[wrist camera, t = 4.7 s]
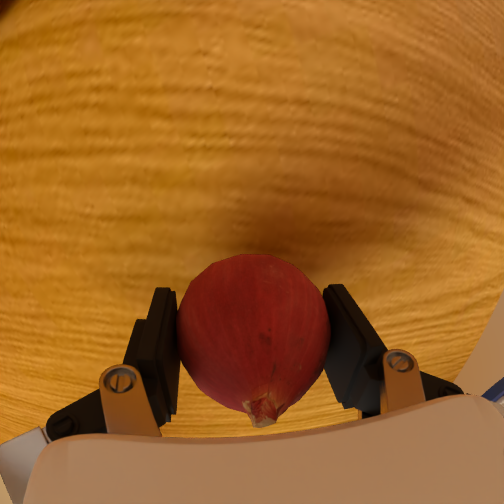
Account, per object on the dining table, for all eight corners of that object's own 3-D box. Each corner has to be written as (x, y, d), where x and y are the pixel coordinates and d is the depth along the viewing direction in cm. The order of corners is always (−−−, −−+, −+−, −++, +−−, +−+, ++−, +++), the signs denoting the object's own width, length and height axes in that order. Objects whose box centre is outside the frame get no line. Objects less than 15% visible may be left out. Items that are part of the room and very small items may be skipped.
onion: (323, 256, 14) (407, 375, 7) (266, 340, 16) (297, 468, 9) (215, 204, 12) (216, 323, 5) (167, 305, 14) (143, 446, 7)
